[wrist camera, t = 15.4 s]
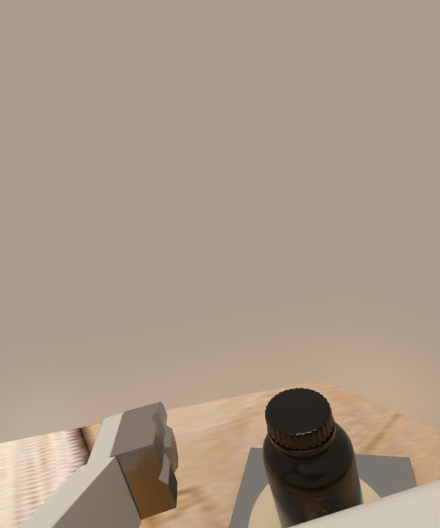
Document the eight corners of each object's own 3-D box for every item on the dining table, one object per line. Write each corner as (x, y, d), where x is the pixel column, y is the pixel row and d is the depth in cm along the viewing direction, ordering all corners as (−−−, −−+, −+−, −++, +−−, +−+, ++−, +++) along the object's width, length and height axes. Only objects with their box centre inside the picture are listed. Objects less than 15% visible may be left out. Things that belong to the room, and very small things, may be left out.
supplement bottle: (342, 604, 22) (307, 468, 19) (267, 535, 27) (230, 420, 24) (386, 520, 26) (363, 397, 23) (313, 474, 31) (286, 369, 28)
